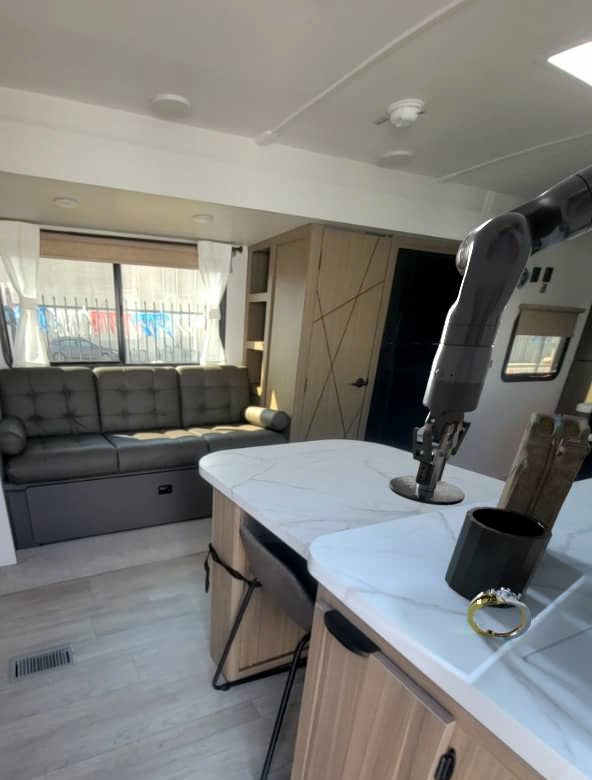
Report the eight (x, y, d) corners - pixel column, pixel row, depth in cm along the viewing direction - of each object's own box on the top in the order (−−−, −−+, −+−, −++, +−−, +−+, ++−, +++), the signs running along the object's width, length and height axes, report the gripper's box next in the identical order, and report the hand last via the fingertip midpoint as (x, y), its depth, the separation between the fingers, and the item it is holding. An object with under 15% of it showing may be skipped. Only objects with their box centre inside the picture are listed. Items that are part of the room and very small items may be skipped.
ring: (460, 636, 56) (478, 589, 52) (459, 622, 58) (477, 576, 55) (520, 655, 53) (544, 606, 50) (517, 639, 56) (539, 592, 52)
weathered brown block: (487, 526, 86) (532, 408, 75) (536, 539, 82) (590, 415, 71) (476, 564, 73) (529, 426, 62) (534, 582, 68) (601, 437, 57)
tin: (463, 564, 73) (486, 501, 67) (531, 596, 65) (564, 527, 59) (431, 583, 67) (453, 516, 62) (501, 620, 59) (534, 546, 54)
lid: (411, 477, 78) (421, 441, 74) (476, 499, 69) (489, 458, 66) (374, 490, 72) (382, 450, 68) (439, 515, 63) (452, 471, 60)
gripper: (458, 383, 55) (426, 498, 63) (504, 377, 62) (470, 481, 70) (407, 376, 61) (383, 483, 68) (455, 371, 68) (428, 468, 76)
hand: (427, 481), depth 69 cm, fingers closed on lid, 3 cm apart
